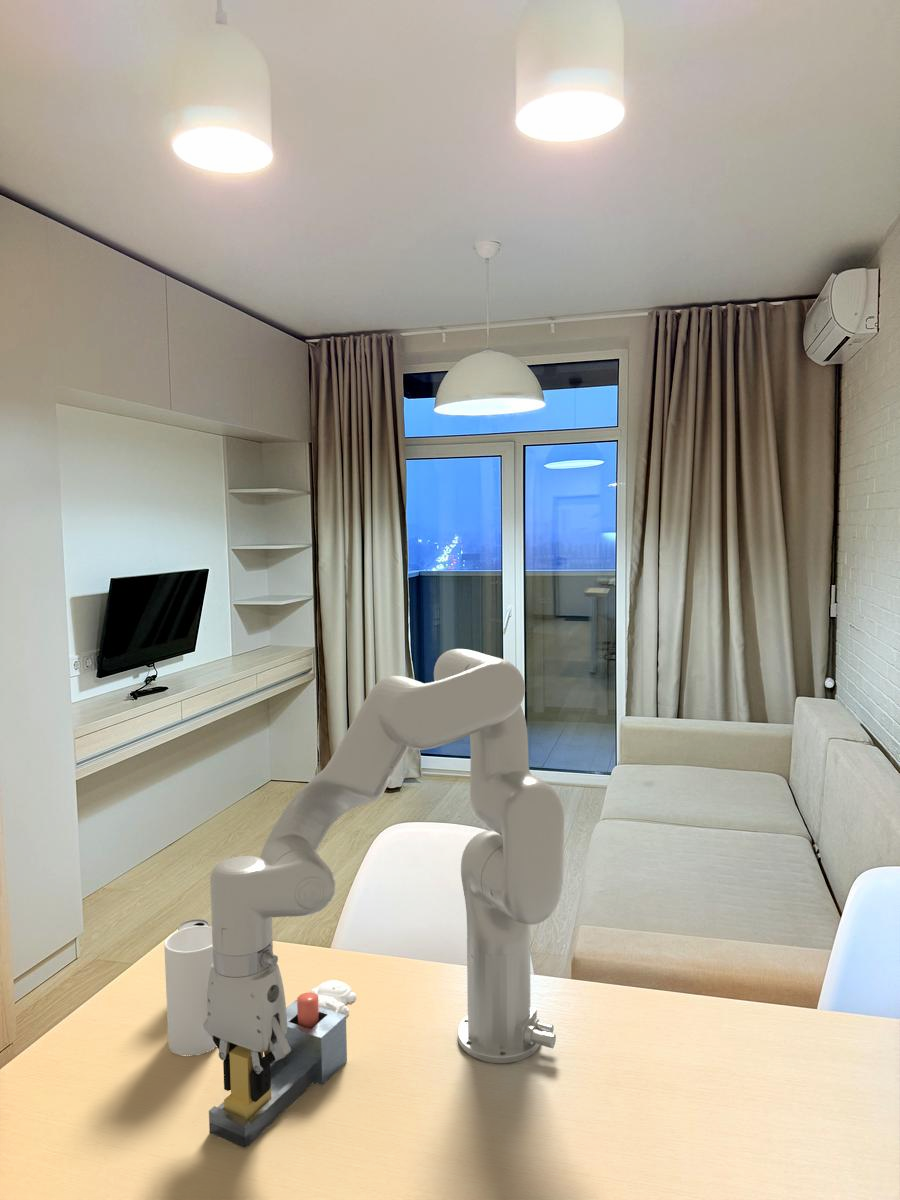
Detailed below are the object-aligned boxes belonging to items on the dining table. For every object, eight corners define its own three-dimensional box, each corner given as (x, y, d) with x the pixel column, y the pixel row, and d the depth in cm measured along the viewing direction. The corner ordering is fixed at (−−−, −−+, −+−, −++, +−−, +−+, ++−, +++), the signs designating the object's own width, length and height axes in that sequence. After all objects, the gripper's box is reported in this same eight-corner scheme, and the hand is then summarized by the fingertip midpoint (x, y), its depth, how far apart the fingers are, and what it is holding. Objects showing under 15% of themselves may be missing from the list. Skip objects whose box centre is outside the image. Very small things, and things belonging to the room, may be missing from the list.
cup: (208, 1059, 122) (204, 954, 121) (157, 1052, 124) (153, 949, 123) (234, 1026, 130) (230, 928, 129) (185, 1020, 132) (182, 923, 131)
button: (323, 1027, 121) (322, 995, 121) (310, 1038, 118) (309, 1006, 118) (306, 1021, 122) (305, 990, 122) (293, 1032, 120) (292, 1000, 119)
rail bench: (347, 1061, 121) (346, 1015, 121) (254, 1152, 104) (253, 1099, 103) (297, 1044, 126) (296, 999, 125) (200, 1129, 108) (198, 1077, 107)
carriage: (271, 1101, 111) (269, 1042, 110) (245, 1125, 106) (243, 1064, 106) (250, 1092, 112) (248, 1034, 112) (224, 1116, 108) (222, 1055, 107)
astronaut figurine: (284, 1025, 131) (283, 1006, 131) (319, 985, 142) (319, 968, 142) (334, 1035, 128) (334, 1016, 128) (366, 994, 140) (366, 977, 139)
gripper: (313, 956, 107) (316, 1092, 109) (215, 929, 115) (219, 1055, 116) (275, 985, 100) (279, 1128, 102) (173, 953, 108) (179, 1087, 110)
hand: (247, 1088), depth 109 cm, fingers open, 3 cm apart
